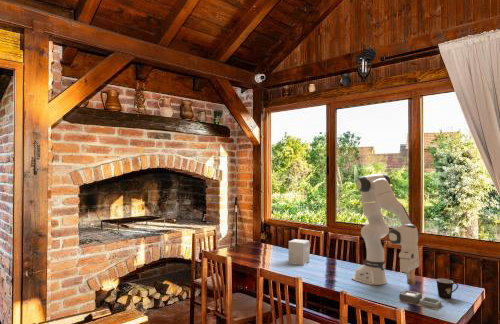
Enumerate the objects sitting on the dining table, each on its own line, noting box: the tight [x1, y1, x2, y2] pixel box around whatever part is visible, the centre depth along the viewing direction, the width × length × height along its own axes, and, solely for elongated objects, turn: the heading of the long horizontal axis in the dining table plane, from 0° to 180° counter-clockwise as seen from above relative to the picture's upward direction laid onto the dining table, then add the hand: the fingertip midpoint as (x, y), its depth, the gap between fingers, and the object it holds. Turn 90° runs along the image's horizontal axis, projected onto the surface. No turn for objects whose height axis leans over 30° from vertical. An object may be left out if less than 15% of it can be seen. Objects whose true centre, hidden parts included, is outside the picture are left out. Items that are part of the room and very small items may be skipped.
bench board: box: [397, 299, 443, 311], centre depth 198 cm, size 20×11×1 cm, turn 47°
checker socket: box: [398, 289, 423, 305], centre depth 201 cm, size 9×9×4 cm
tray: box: [419, 296, 442, 310], centre depth 194 cm, size 9×9×2 cm
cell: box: [406, 269, 416, 286], centre depth 201 cm, size 4×4×9 cm
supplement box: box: [288, 238, 310, 266], centre depth 288 cm, size 13×13×18 cm
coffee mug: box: [435, 278, 459, 300], centre depth 207 cm, size 12×9×10 cm
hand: (410, 277), depth 201 cm, fingers closed on cell, 4 cm apart
